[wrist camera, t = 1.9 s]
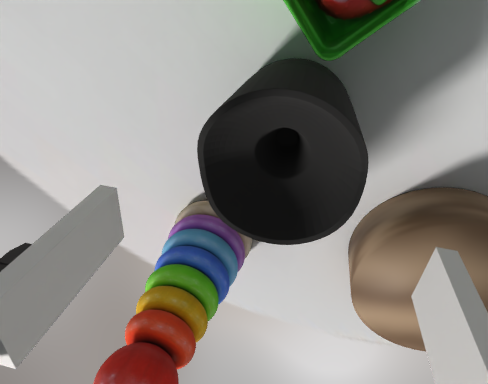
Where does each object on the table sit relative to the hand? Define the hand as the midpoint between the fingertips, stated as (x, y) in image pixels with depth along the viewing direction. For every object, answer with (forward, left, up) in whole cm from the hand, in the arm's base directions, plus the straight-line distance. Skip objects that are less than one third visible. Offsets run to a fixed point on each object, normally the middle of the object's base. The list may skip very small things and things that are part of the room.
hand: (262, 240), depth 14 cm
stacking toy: (+13, -6, -15) cm, 21 cm away
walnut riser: (+11, +14, -15) cm, 23 cm away
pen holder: (0, 0, -15) cm, 15 cm away
